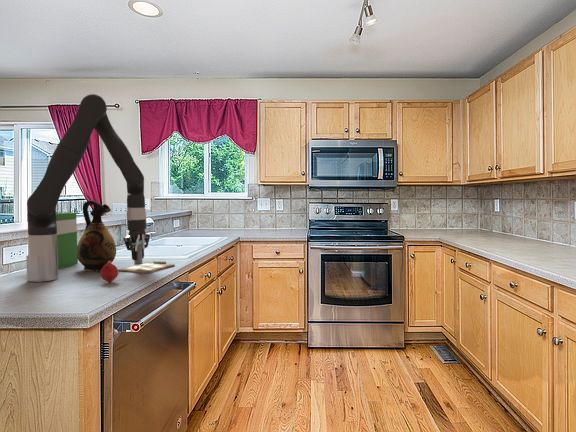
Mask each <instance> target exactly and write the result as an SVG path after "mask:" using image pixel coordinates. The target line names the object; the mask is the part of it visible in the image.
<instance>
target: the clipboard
mask: <svg viewBox="0 0 576 432" xmlns="http://www.w3.org/2000/svg"><path fill="white" fill-rule="evenodd" d="M175 265H176V264H175V263H167V261H165V260H164V261H162V260H153V261H152V262H142V264H141V265H131V266H128V267H123V268H117V269H118V272H122V273H123V272H124V273H133V274H134V273H135V274H152V273H155V272H159V271H162V270H166V269H169V268H172V267H175Z"/></svg>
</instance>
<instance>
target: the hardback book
mask: <svg viewBox="0 0 576 432" xmlns="http://www.w3.org/2000/svg"><path fill="white" fill-rule="evenodd" d="M77 222H78V221H77V212H56V223H57V248H58V270H60V269H64V268H67V267H70V266H74V265H76V264H79V261H78V258H77V246H78V229H77V227H78V225H77Z"/></svg>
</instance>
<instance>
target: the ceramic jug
mask: <svg viewBox="0 0 576 432" xmlns="http://www.w3.org/2000/svg"><path fill="white" fill-rule="evenodd" d="M89 206H93V209H92V210H90V213H89ZM111 211H112V209H111V208H110V206H109V205H108V204H106V203H105V204H103V205H102V203H98V201H96V200H94V199H91V200H90V199H89V200H86V201H85V202H84V204H83V205H82V213H83V214H82V215H83V217H84V221H85V228H84V232H83V233H82V235H81V236H80V238H79V241H78V242H77V258H78V263H80V264H81V265H82V266H83V270H85V271H86V272H101V269H102V268H103V267H104V266H105V265H106V264H107V263H108V262H109V261H111V264H113V262H114V260H115V259H116V256H117V245H116V243H115V239H114V237H113V236H112V234H111V232H110V231H109V229H108V228H107V226H106V225H105V224H104V222H103V220H102V216H103V215H105V214H107V213H110V212H111ZM90 215H91V216H92V220H91V217H90Z"/></svg>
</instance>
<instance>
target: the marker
mask: <svg viewBox="0 0 576 432" xmlns="http://www.w3.org/2000/svg"><path fill="white" fill-rule="evenodd" d="M133 244H135V243H133ZM137 254H138V260H133V266H135V265H141V264H143V259H142V240H141V241H139V245H138V246H137Z"/></svg>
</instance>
